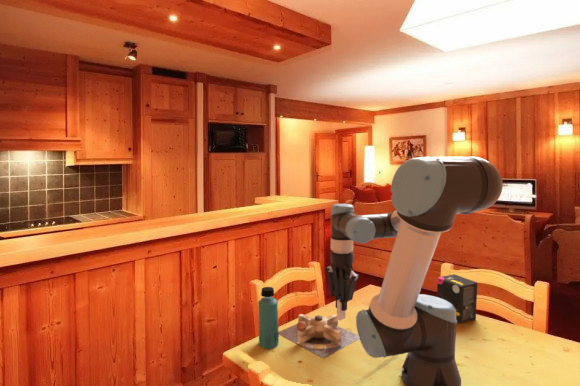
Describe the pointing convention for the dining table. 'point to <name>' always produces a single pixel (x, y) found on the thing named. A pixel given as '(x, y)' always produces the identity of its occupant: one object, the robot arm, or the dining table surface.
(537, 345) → the dining table surface
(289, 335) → the stand
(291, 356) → the dining table surface
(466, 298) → the tampon box
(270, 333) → the beverage bottle
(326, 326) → the capstan
